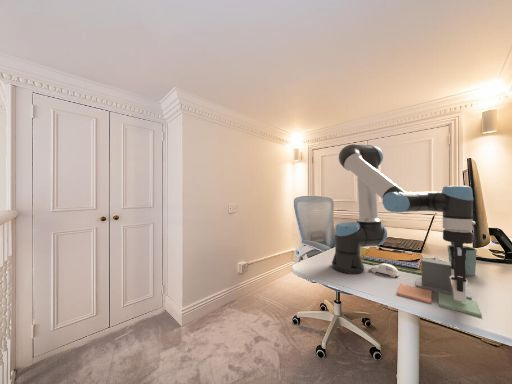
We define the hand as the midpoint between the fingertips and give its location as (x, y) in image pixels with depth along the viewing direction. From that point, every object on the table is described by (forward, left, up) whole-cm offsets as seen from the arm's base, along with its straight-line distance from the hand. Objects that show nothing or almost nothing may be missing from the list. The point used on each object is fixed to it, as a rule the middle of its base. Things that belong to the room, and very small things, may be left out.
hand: (457, 293), depth 71 cm
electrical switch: (-5, +24, -4) cm, 25 cm away
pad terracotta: (-12, 0, -4) cm, 13 cm away
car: (-24, +16, -5) cm, 30 cm away
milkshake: (0, +1, -3) cm, 3 cm away
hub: (-4, +11, -4) cm, 13 cm away
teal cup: (+4, +41, -4) cm, 42 cm away
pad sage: (0, 0, -4) cm, 4 cm away
